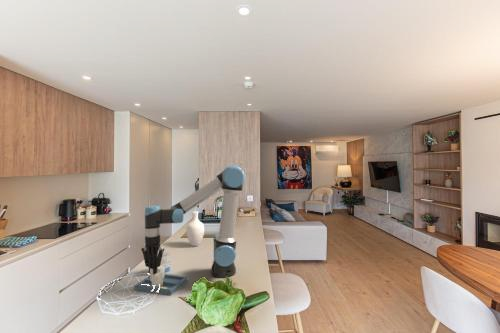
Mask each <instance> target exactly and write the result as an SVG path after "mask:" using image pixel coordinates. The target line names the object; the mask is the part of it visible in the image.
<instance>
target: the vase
mask: <svg viewBox="0 0 500 333" xmlns="http://www.w3.org/2000/svg"><path fill="white" fill-rule="evenodd" d="M191 214H192V220H191V221H190V222H188V223H187V225H186V230H185V231H186V232H185V233H186V236H187V239H188V242H189V243H190V245H191V246H192V247H198V246H200V245H201V242H202V240H203V237H204V235H205V225H204V223H203V222H202V221H200V219H199V211H197V210H195V211H194V210H193V211H192V212H191Z"/></svg>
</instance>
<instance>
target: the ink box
mask: <svg viewBox="0 0 500 333" xmlns="http://www.w3.org/2000/svg"><path fill="white" fill-rule="evenodd" d="M170 255H171V254H170V251H168V250H164V252H163V255H162V260H161V265H162V266H163V267H164V273H165V274H166V273H167V272H170V271H171V266H170V265H171V264H170V262H171V261H170V257H171V256H170ZM157 257H158V254H157Z"/></svg>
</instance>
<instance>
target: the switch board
mask: <svg viewBox="0 0 500 333" xmlns="http://www.w3.org/2000/svg"><path fill="white" fill-rule="evenodd" d="M188 277H189V276H188ZM188 277H187V275H179V274H171V273H166V272H165V273H164V278H163V285H162V286H161V287H160V290H159V293H158V294H159V295H160V294H161V295H167V296H172V295H173V294H175V293H176V292H177V291H178V290H180V288H182V287H183V286H184V285H185V284H187V283H188V282H189V281H188V280H189V278H188ZM141 284H149V285H150V286H147V285H141ZM133 287H134V288H133V289H134V291H138V292H139V291H141V292H146V291H151V290H152V289H153V286H152V281H150V275H149V276H147V277H145V278H144V279H142V280H140V282H139V281H138V282H137V283H136V284H135V285H133ZM158 288H159V286H155V289H154V291H153V292H154V293H153V292H152V293H153V294H156V293H155V292H156V291H157V290H158Z"/></svg>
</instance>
